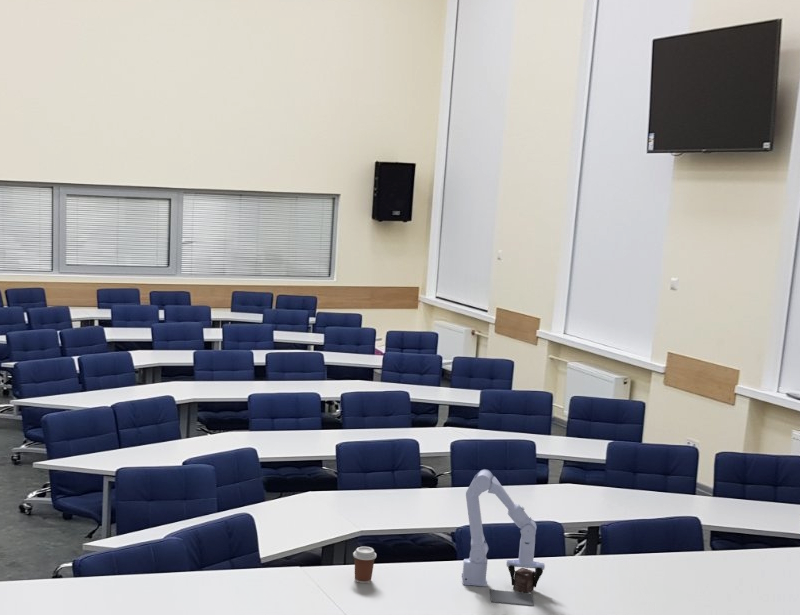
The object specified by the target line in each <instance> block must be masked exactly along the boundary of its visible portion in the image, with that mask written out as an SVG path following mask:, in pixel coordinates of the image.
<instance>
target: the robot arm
mask: <svg viewBox="0 0 800 615" xmlns="http://www.w3.org/2000/svg"><path fill="white" fill-rule="evenodd" d="M486 491H487V493H488V494H493V495H495V496H496V497H497V498H498V499H499V500H500V502H501V503H502V504H503V505H504V506H505V507H506V508H507V515H508V516H509V518H510V519H511V520H512V521H513V523H514V524H515V525H516V526H517V527H518V528H519V529H520V530H519V531H520V534H521V535H520V540H519V548H518V549H519V551H518V559H507V560H506V567H507V568H508V571H509V574H510V580H511V586H513V585H514V576H515V571H516V570H515V569H516V568H525V569H535V570H534V572H535V580H534V588H537V585H538V581H539V580H540V578H541V576H542V575H543V572H544V570H545V568H546V567H545V566H546V565H545V562H539V561H538V562H537V561H534V560H535V559H534V558H535V557H534V556H535V546H536V545H535V544H536V534H537V529H538V528H537V523H536V521H535V520H534V519H533V518H532V517H530V516H529V515H528V513H527V512H526V511H525V507H523V506H521V505H520V504H516V503H515V502H514V501H513V500H512V498H511V497H510V495H509V494H508V493H507V491H506V490H505V488H504V487H503V486H502V484H501V483H500V481H499V480H498V479H497V477H496V476H495V475H493V473H492V472H491V471H490V470H489V469H481V470H480V471H478V472H477V473H476V474H475V475H474V477H473V479H472V481H471V482H470V485H469V486H468V488H467V489H466V492H465V498H466V499H465V500H466V507H467V514H468V515H467V516H468V523H469V531H470V537H471V538H470V551H469V557H468V558H464V559H463V564H462V573H461V580H462V581H461V582H462V585H464V586H465V585H467V586H477V587H484V588H485V587H488V584H487V583H488V582H487V570H488V558H487V553H488V552H489V546H488V543H487V541H486V538H485V535H484V529H483V521H482V513H481V505H480V498H479V497H480V496H481V495H482V493H484V492H486Z"/></svg>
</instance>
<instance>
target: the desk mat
mask: <svg viewBox="0 0 800 615" xmlns="http://www.w3.org/2000/svg"><path fill="white" fill-rule="evenodd" d="M489 594H490V602H491V603H499V604H507V605H508V604H509V605H515V606H516V605H518V606H528V607H535V601H534V597H533V594H532V593H530V592H528V593H523V592H520V591H512V590H511V591H510V590H499V589H489Z"/></svg>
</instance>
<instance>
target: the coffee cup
mask: <svg viewBox="0 0 800 615" xmlns="http://www.w3.org/2000/svg"><path fill="white" fill-rule="evenodd" d="M352 556H353V558H354V581H355V582H357V583H360V584H368V583H371V581H372V576H373V570H374V564H375V559H376V558H377V553H376V552H375V549H374V548H373V547H370V546H360V547H357V548H356V549H355V550H354V552H352Z"/></svg>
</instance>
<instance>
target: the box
mask: <svg viewBox="0 0 800 615" xmlns="http://www.w3.org/2000/svg"><path fill="white" fill-rule="evenodd" d="M534 580H535V570H530V569H529V568H524V567H520V568H519V569H517V570H515V574H514V585H512V586H513V588H512V589H513V590H514V591H516V592H522V593H530V592H531V591H533V590H534V588H535V587H534Z"/></svg>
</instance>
